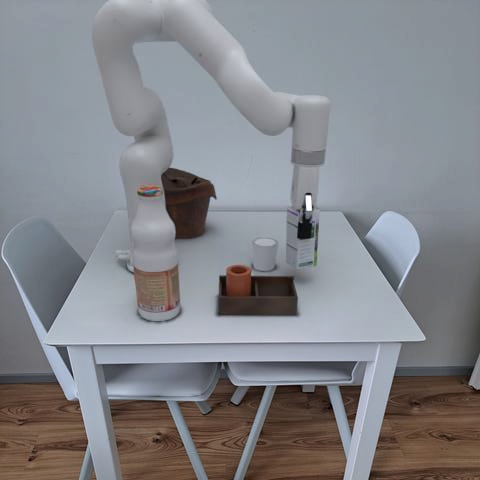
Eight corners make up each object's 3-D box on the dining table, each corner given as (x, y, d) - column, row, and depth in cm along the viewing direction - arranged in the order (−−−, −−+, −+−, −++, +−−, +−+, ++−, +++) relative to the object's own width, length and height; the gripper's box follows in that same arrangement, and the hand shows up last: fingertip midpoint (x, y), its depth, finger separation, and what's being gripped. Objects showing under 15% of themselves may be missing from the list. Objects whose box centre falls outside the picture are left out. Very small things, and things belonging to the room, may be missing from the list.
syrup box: (297, 270, 120) (299, 212, 112) (284, 261, 124) (286, 205, 117) (316, 266, 122) (320, 208, 114) (304, 257, 126) (307, 201, 119)
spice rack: (218, 314, 110) (218, 293, 107) (219, 296, 118) (219, 275, 115) (296, 315, 111) (298, 293, 108) (292, 296, 118) (293, 275, 115)
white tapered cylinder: (274, 273, 129) (276, 248, 125) (248, 270, 130) (249, 245, 126) (278, 262, 134) (279, 238, 131) (253, 259, 136) (254, 235, 132)
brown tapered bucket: (215, 243, 145) (215, 182, 136) (147, 241, 145) (142, 180, 136) (218, 221, 160) (218, 165, 151) (157, 220, 160) (152, 164, 151)
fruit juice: (148, 326, 105) (136, 198, 91) (131, 307, 112) (118, 185, 98) (187, 315, 110) (182, 190, 95) (169, 297, 116) (161, 178, 102)
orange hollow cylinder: (226, 311, 112) (226, 275, 107) (226, 299, 116) (226, 264, 112) (250, 311, 112) (251, 275, 107) (249, 299, 116) (250, 264, 112)
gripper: (287, 147, 117) (282, 219, 126) (295, 166, 102) (289, 246, 111) (318, 148, 117) (311, 219, 126) (331, 166, 102) (323, 246, 111)
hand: (301, 231), depth 119 cm, fingers closed on syrup box, 7 cm apart
